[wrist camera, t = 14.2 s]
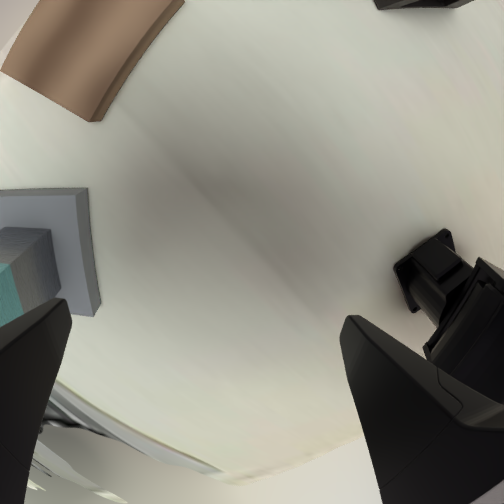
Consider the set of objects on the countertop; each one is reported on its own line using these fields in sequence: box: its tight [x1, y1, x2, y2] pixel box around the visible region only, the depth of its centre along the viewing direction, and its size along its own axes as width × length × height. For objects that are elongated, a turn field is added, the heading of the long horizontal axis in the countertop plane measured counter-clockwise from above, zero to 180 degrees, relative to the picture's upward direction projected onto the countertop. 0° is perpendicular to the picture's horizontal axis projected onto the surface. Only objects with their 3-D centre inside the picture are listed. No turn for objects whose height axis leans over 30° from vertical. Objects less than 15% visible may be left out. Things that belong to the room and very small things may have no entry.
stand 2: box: [0, 188, 101, 317], centre depth 20 cm, size 10×10×2 cm
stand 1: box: [0, 0, 185, 122], centre depth 13 cm, size 10×10×2 cm
